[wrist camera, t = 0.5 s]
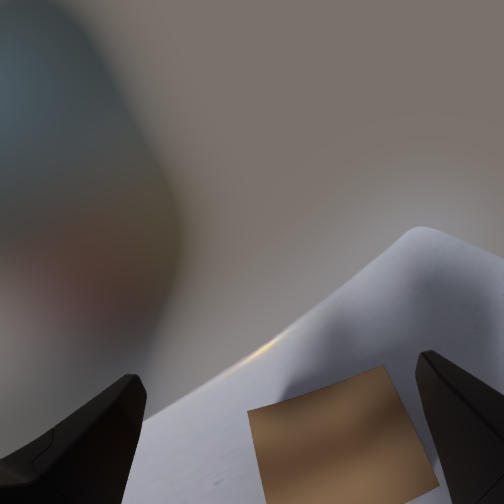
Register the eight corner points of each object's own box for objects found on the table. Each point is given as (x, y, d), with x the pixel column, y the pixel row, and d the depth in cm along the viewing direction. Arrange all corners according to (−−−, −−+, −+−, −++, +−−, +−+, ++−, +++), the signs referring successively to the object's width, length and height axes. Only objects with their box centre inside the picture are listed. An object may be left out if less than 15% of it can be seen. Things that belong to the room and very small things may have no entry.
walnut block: (422, 494, 15) (439, 485, 12) (290, 540, 15) (275, 543, 12) (379, 393, 23) (383, 364, 20) (264, 432, 23) (247, 411, 20)
